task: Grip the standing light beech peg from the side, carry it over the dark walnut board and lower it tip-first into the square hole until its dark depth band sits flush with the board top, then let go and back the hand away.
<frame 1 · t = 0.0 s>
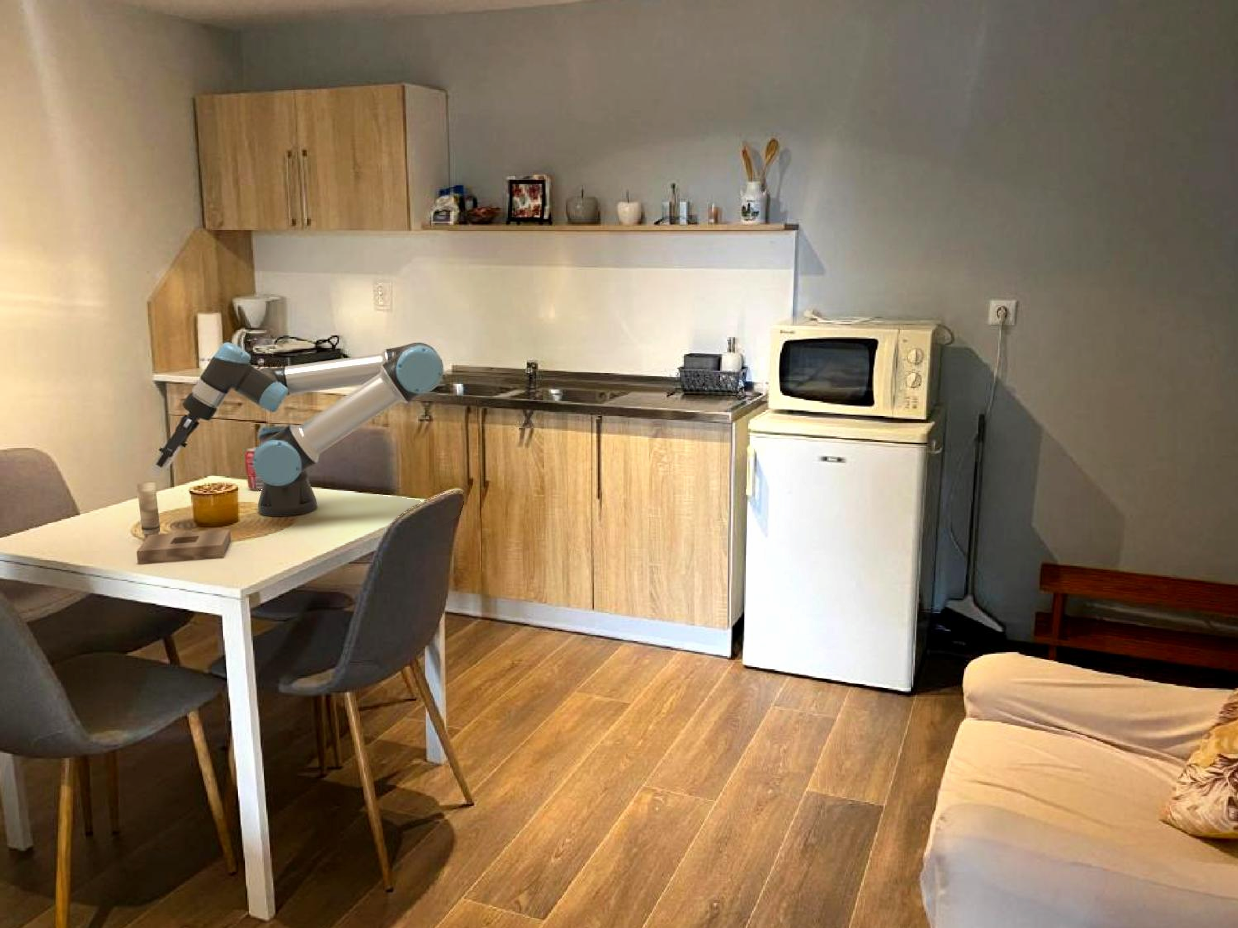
hand: (157, 471, 257), 15 cm above the table, tool tilted 35°, fingers open, 13 cm apart
board: (186, 552, 240), on the table
soda can: (260, 489, 305), on the table
peg: (152, 539, 251), on the table
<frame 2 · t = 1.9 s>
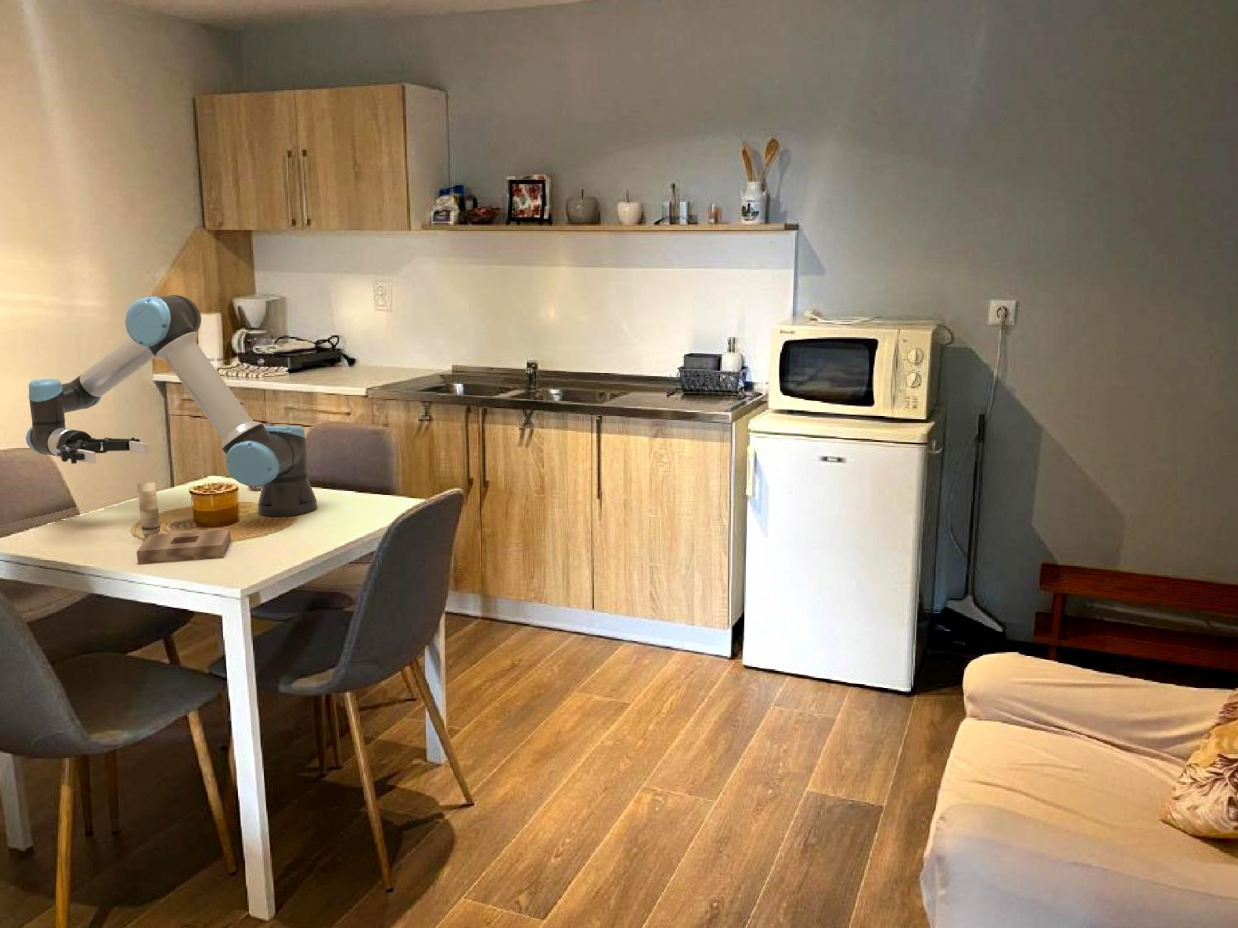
hand: (120, 453, 252), 21 cm above the table, tool horizontal, fingers open, 13 cm apart
nothing on the table moved.
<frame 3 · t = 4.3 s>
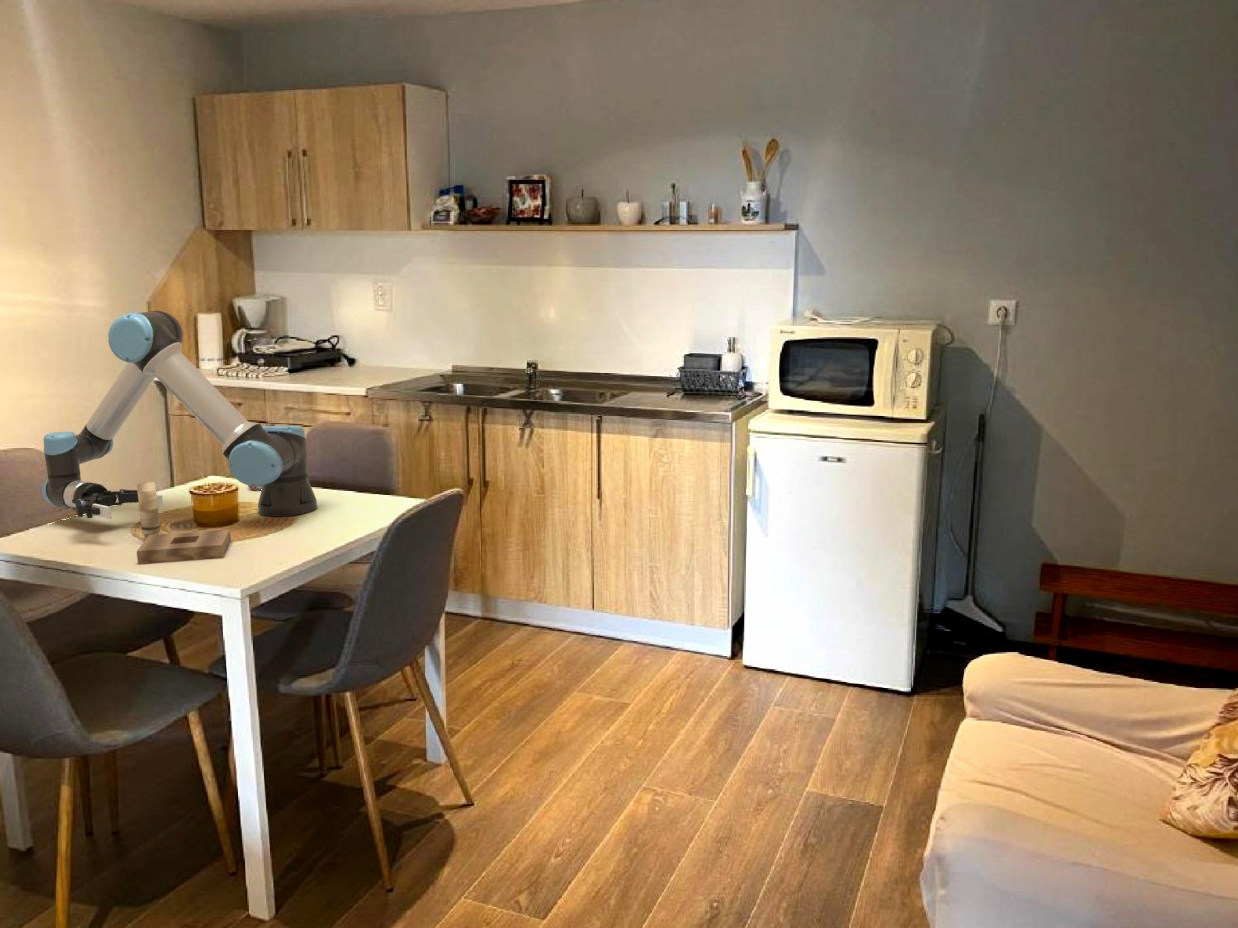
hand: (136, 506, 252), 8 cm above the table, tool horizontal, fingers open, 13 cm apart
nothing on the table moved.
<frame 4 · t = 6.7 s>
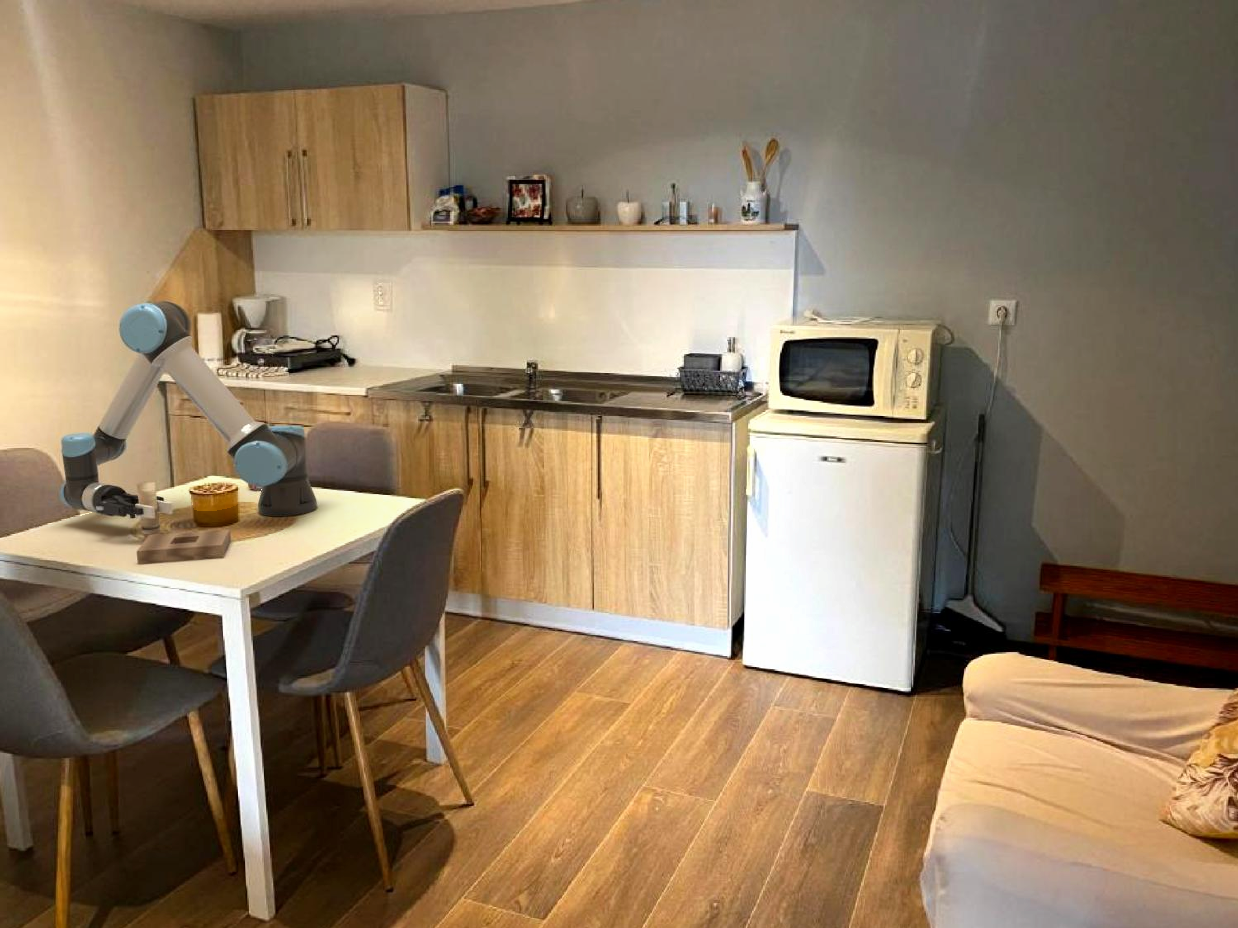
hand: (162, 510, 247), 8 cm above the table, tool horizontal, fingers closed on peg, 4 cm apart
peg: (152, 539, 251), on the table, touching gripper
everything else where it was.
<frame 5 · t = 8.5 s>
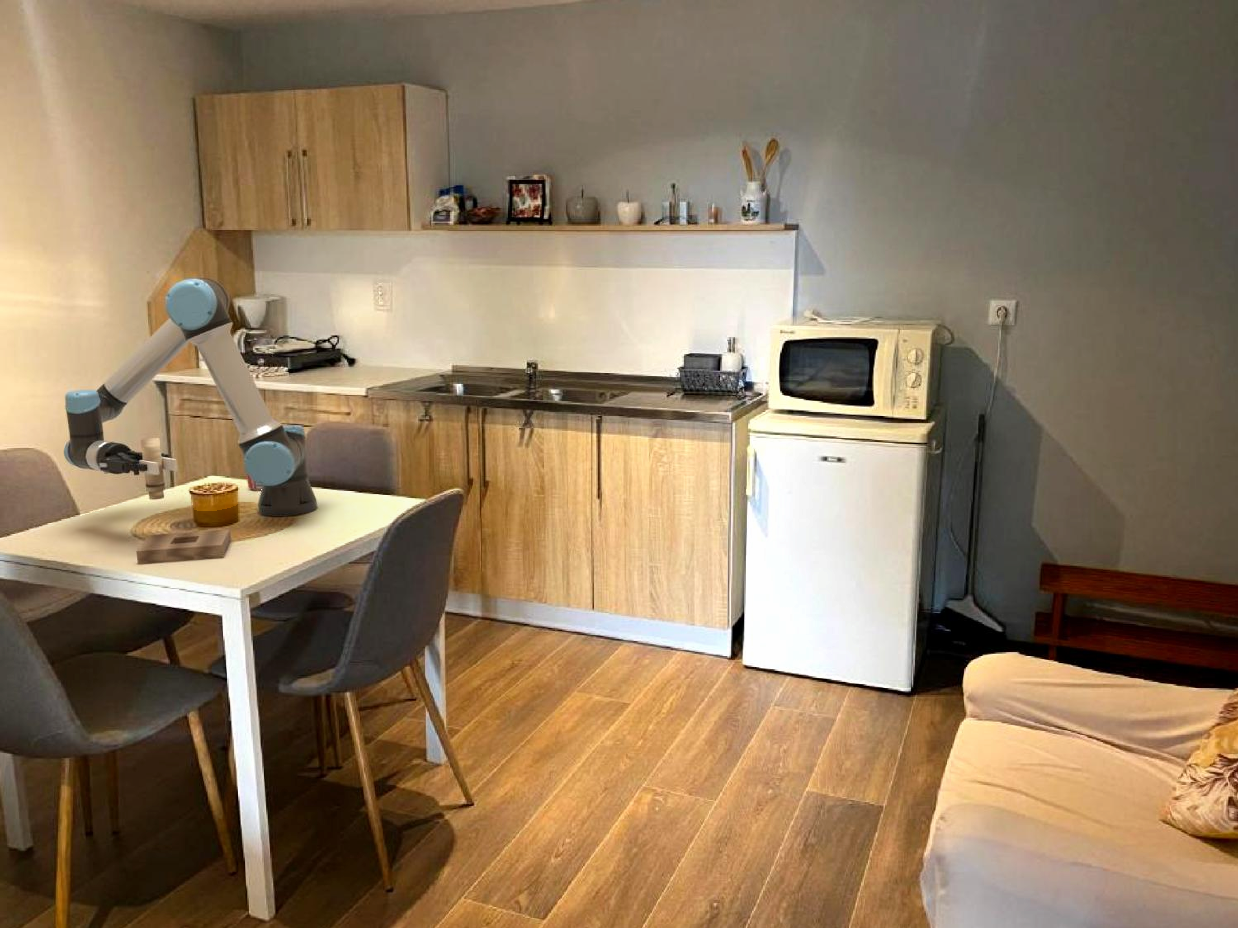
hand: (166, 467, 238), 20 cm above the table, tool horizontal, fingers closed on peg, 4 cm apart
peg: (156, 498, 243), point 12 cm above the table, touching gripper
everything else where it was.
when the fingers open (10 cm above the table, at t = 10.8 s): peg drops 2 cm, resting in board.
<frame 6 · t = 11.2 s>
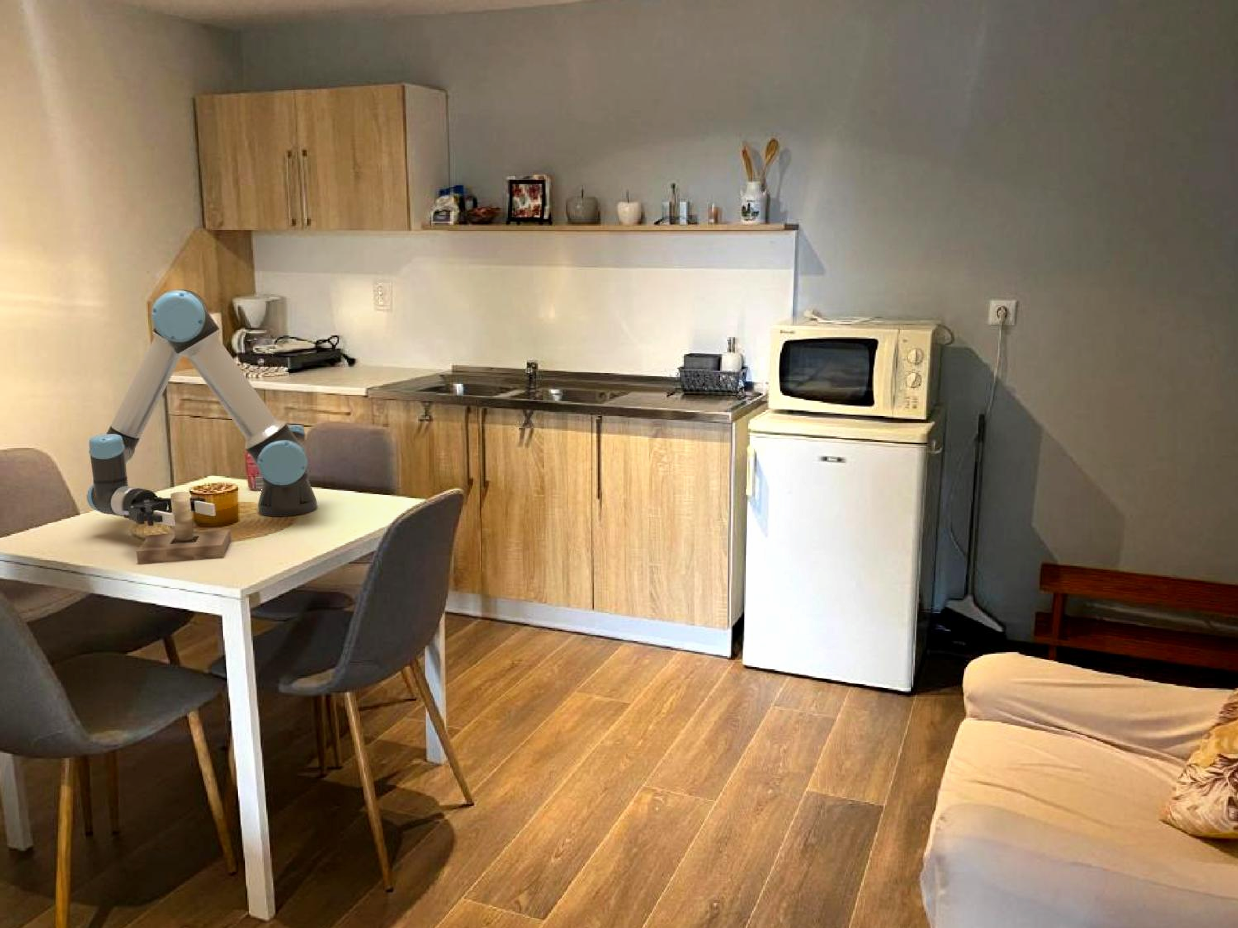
hand: (193, 514, 236), 9 cm above the table, tool horizontal, fingers open, 10 cm apart
peg: (185, 552, 240), resting in board
everything else where it was.
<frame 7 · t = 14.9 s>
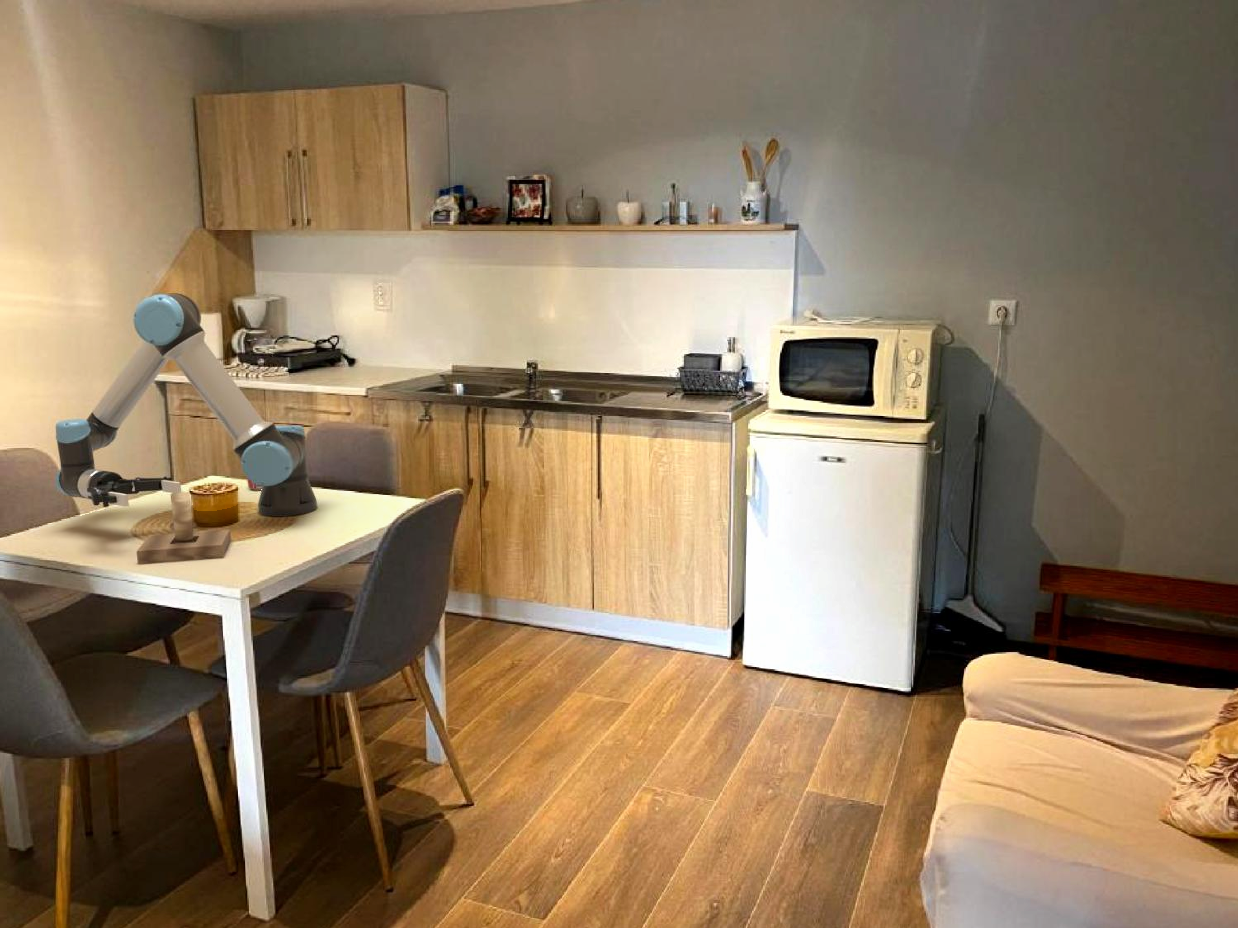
hand: (153, 494, 243), 13 cm above the table, tool horizontal, fingers open, 13 cm apart
nothing on the table moved.
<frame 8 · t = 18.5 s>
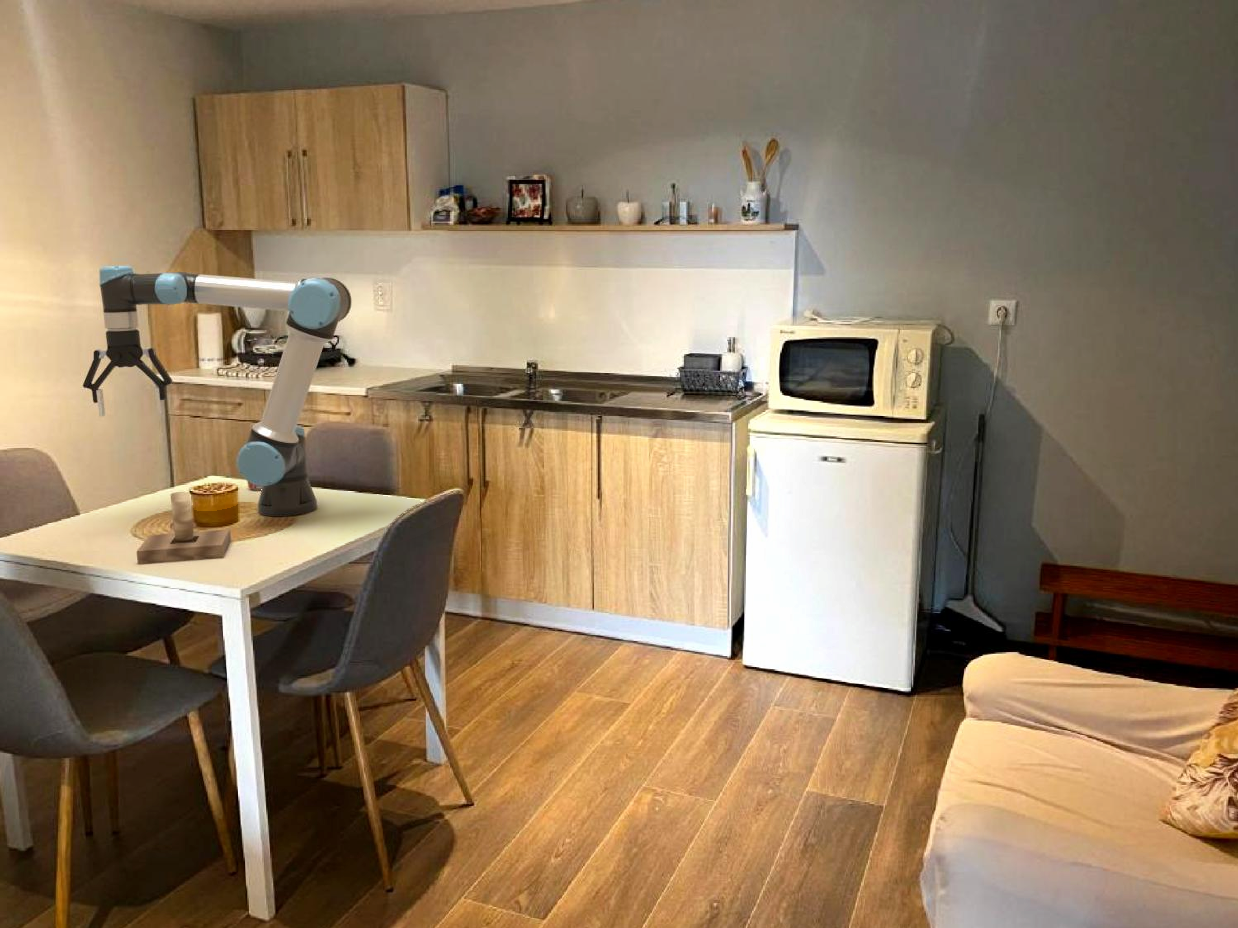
hand: (131, 414, 260), 29 cm above the table, tool pointing down, fingers open, 13 cm apart
nothing on the table moved.
at the end: peg 0.1 cm off-centre on the board, point 0.0 cm above the board's base; peg tilted 0°; the gripper is holding nothing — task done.
